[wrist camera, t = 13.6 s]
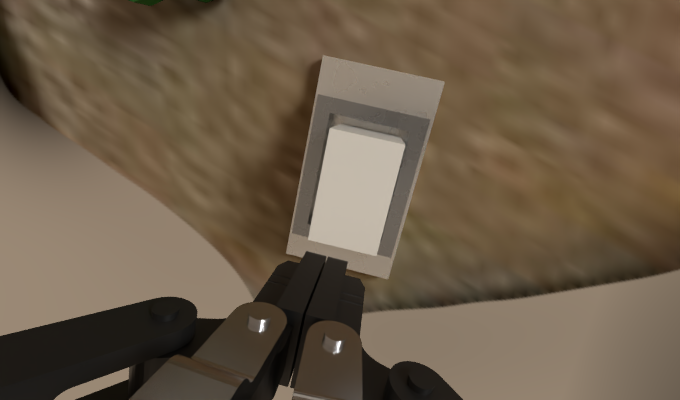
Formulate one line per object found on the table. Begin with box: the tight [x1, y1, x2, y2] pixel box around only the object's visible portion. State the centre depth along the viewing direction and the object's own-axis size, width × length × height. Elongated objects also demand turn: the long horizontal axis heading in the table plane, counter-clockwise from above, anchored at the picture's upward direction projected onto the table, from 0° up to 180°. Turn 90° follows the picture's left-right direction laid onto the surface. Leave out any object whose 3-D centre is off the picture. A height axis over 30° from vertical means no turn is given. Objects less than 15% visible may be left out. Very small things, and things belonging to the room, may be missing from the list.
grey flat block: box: [286, 55, 445, 279], centre depth 29 cm, size 10×18×3 cm, turn 167°
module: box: [308, 124, 405, 256], centre depth 26 cm, size 5×8×7 cm, turn 168°
